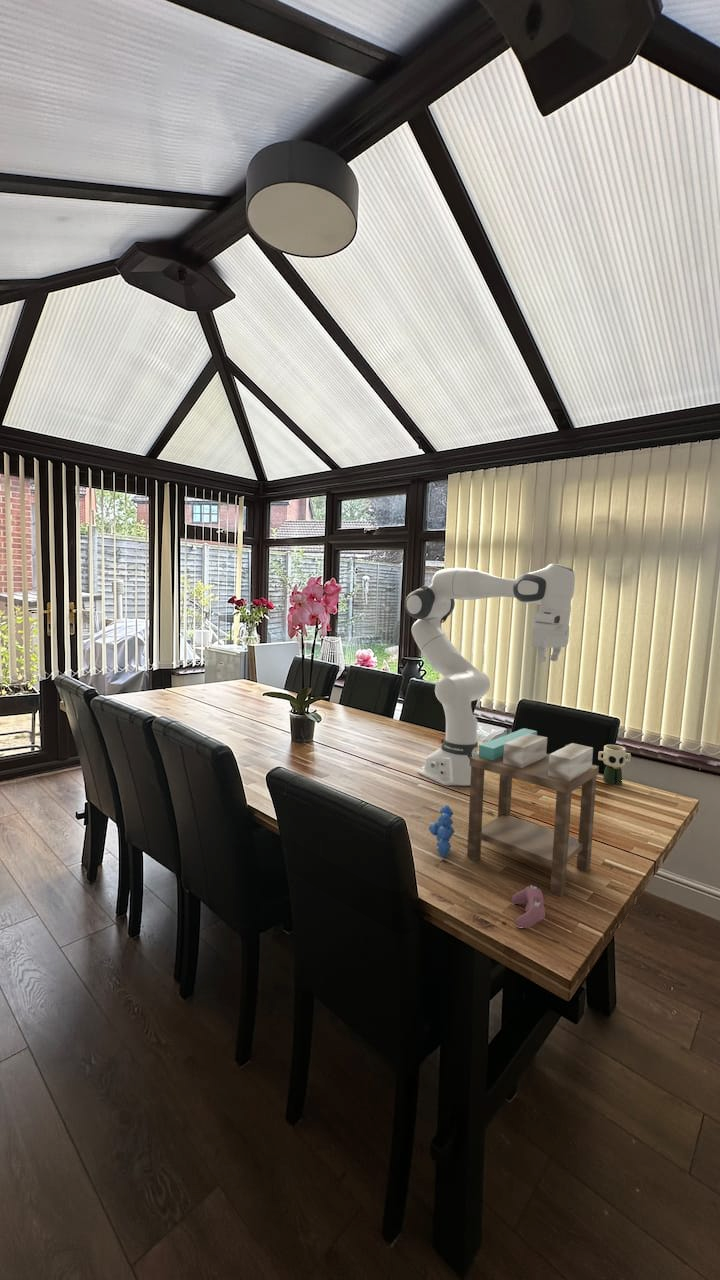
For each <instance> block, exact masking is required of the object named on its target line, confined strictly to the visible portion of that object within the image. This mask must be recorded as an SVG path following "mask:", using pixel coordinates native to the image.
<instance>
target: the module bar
mask: <svg viewBox="0 0 720 1280" xmlns="http://www.w3.org/2000/svg"><path fill="white" fill-rule="evenodd" d="M528 733H529V734H534V735H538V731H537V730H533V729H530V728H529V729H528V728H524V727H523V728H520V729H518V730H516V731H513V732H509V733H508V734H505V735H501V736H500V737H497V738H495V739H492V740H488V741H486V742H483V743H481V744H478V754H479V757H482V758H486V759H490V760H495V759H497V758H499V757H502V756H503V755H504V743H506V742H508V741H511V740H513V739H516V738H518V737H521V736H523V735H526V734H528Z"/></svg>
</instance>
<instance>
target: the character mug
mask: <svg viewBox="0 0 720 1280" xmlns="http://www.w3.org/2000/svg"><path fill="white" fill-rule="evenodd" d="M597 755H598V756H597V759H598V761H603V764H604V765H605V768H604V772H603V777H602V779H603V781H604V782H605V783H608V784H612V785H614V784H615V783H616V785H622V783H623V773H622V772H623V771H622V767H624V766H625V764H626V763H630V762H631V757H632V755H631V753H630V752H627V748H626V747H624V746H621V745H616V744H606V745H604V746H603V751H602V750H601V751H598V754H597ZM602 755H603V757H602ZM626 756H627V758H626ZM621 780H622V781H621Z"/></svg>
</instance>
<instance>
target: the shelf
mask: <svg viewBox="0 0 720 1280" xmlns="http://www.w3.org/2000/svg"><path fill="white" fill-rule="evenodd" d="M568 744H569V745H567V744H566V745H567V746H565V745H564V747H562V748H559V749H557V750H555V751H553V752H551V753H547V748H548V747H547V746H548V737H547V736H542V735H539V734H537V735H534V734H529V733H528V734H526V735H523V736H521V737H518V738H516V739H513V740H511V741H508V742H506V743H504V755H503V756H502V757H499V758H497V759H495V760H490V759H486V758H482V757H479V753H477V755H476V756H473V757H471V758H470V766H471V783H470V785H469V788H470V789H469V808H468V809H469V810H468V811H469V812H468V833H467V851H466V856H467V857H468V858H470V859H472V858H473V860H477V859H479V858H480V857H481V850H482V849H481V847H482V841H484V842H486V843H488V844H491V845H494V846H497V847H499V848H501V849H504V850H507V851H509V852H512V853H513V854H517V855H519V856H522V857H524V858H527V859H530V860H532V861H535V862H537V863H540V864H542V865H545V866H548V867H550V868H551V874H550V876H551V878H550V890H549V891H550V893H552V894H554V895H556V896H559V897H562V896H563V895H564V894H565V893H566V886H567V869H568V863H570V861H572V860H573V858H575V857H576V856H577V857H576V869H579V870H582V871H584V872H588V870H589V869H590V868H591V860H592V858H591V857H592V845H593V833H594V832H593V831H594V817H595V803H596V790H597V776H598V775H599V771H600V769H599V768H600V766H599V765H596V764H593V753H594V747H593V746H587V745H583V744H578V743H574V742H571V743H568ZM485 771H488V772H491V773H495V774H498V775H499V787H498V788H499V789H498V803H497V805H498V806H497V808H498V809H497V817H496V818H494V819H493V820H491V821H490V822H488V823H486V824H484V825H483V810H484V809H483V807H484V791H485V789H484V788H485V787H484V786H485ZM513 779H515V780H519V781H521V782H526V783H529V784H531V785H537V786H539V787H543V788H547V789H549V790H554V791H556V796H555V797H556V798H555V812H554V825H553V827H554V829H551V828H547V827H544V826H541V825H538V824H535V823H532V822H529V821H527V820H524V819H521V818H518V817H515V816H512V815H511V807H512V806H511V805H512V790H513V789H512V787H513ZM579 787H581V795H580V810H579V811H580V812H579V813H580V814H579V825H578V838H575V837H573V836H570V824H571V808H572V807H571V806H572V792H573V791H575V790H577V789H578V788H579Z"/></svg>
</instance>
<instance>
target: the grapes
mask: <svg viewBox="0 0 720 1280" xmlns="http://www.w3.org/2000/svg"><path fill="white" fill-rule="evenodd" d="M439 813H440V814H441V815H440V816H439V817H438V820H437V822H436V821H434V822H433V823H431V825H430V826H429V827H428V830H429V831H430V834H431V835H432V836H436V840H437V841H438V842H437V843H436V846H437V852H438V854H439V856H441V857H443V858H445V857H447V856H448V855H449V854H450V852H451V850H450V849H451V848H452V845H451V844H450V839H451V838H452V836H453V835H454V834H455V832H456V831H455V829H454V828H453V826H452V824H453V823H454V822H453V819H452V818H451V817H452V816H453V815H454V811H453V810H452V808H451V807H450V806H449V805H447V804H446V805H444V806H442V808H441V809H440V810H439Z"/></svg>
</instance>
